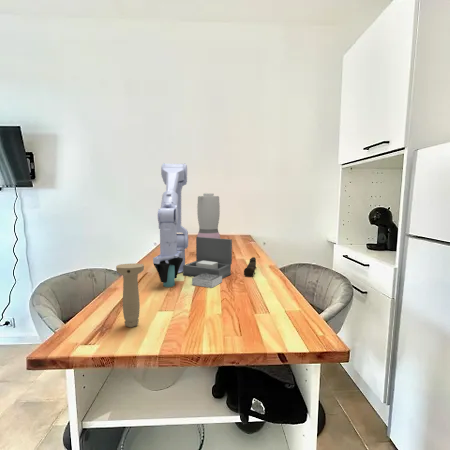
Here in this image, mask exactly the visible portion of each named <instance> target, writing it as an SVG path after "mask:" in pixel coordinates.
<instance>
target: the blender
mask: <svg viewBox="0 0 450 450" xmlns="http://www.w3.org/2000/svg"><path fill="white" fill-rule="evenodd" d="M220 203H221V202H220V196H219V195H214V193H207V192H205V193H203V195H198V196H197V204H196V205H197V206H196V209H197V211H196V212H197V213H196V214H197V221H198V222H197V223H198V227H199V228H198V232H197V235H196V237H206V238H219V239H221V236H220V235H221V234H220V232H219V223H220V212H221V210H220V209H221V208H220V207H221V206H220Z"/></svg>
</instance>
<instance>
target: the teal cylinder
mask: <svg viewBox="0 0 450 450" xmlns="http://www.w3.org/2000/svg"><path fill="white" fill-rule="evenodd" d="M175 279H176V278H175V266H174V265H170V266H169V269H168V276H167V282H166V283H163V282H162V283H163V287H164V288H172V287H175V286H176V284H175V283H176V281H175Z"/></svg>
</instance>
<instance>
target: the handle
mask: <svg viewBox="0 0 450 450" xmlns="http://www.w3.org/2000/svg"><path fill="white" fill-rule="evenodd" d="M115 270H116V273H117V274H120V275H121V276H122V279H123V282H122V314H123V318H124V325H125V327H128V328H134V327H137V326H138V324H139V317H140V304H141V303H140V293H139V281H138V280H139V278H138V277H139V276H138V275H139V274H141V273H142V272H144V270H145V265H144V264H143V263H122V264H120V263H119V264H117V265H116V269H115Z"/></svg>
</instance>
